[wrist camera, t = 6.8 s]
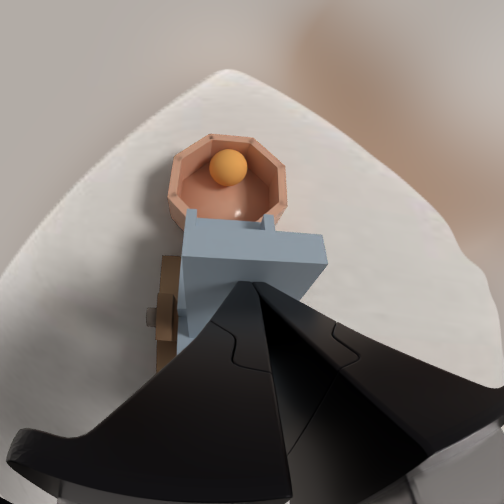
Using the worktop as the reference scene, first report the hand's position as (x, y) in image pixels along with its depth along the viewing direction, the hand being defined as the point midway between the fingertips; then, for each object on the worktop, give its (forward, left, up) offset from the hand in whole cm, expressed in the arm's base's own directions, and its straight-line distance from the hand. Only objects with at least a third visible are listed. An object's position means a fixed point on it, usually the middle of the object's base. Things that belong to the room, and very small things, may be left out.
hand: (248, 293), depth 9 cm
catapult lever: (-1, 0, -9) cm, 9 cm away
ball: (+11, +4, -10) cm, 16 cm away
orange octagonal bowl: (+9, +3, -12) cm, 15 cm away
